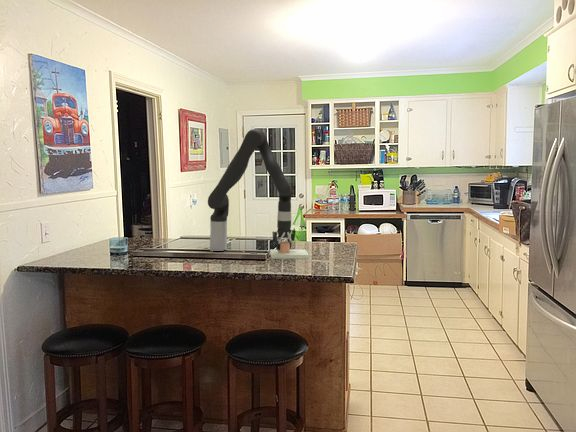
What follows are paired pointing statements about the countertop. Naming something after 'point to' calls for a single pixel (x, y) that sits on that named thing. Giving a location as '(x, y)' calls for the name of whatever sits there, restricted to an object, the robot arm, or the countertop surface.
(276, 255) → the post board
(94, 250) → the countertop surface
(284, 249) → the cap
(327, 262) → the countertop surface
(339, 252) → the countertop surface
